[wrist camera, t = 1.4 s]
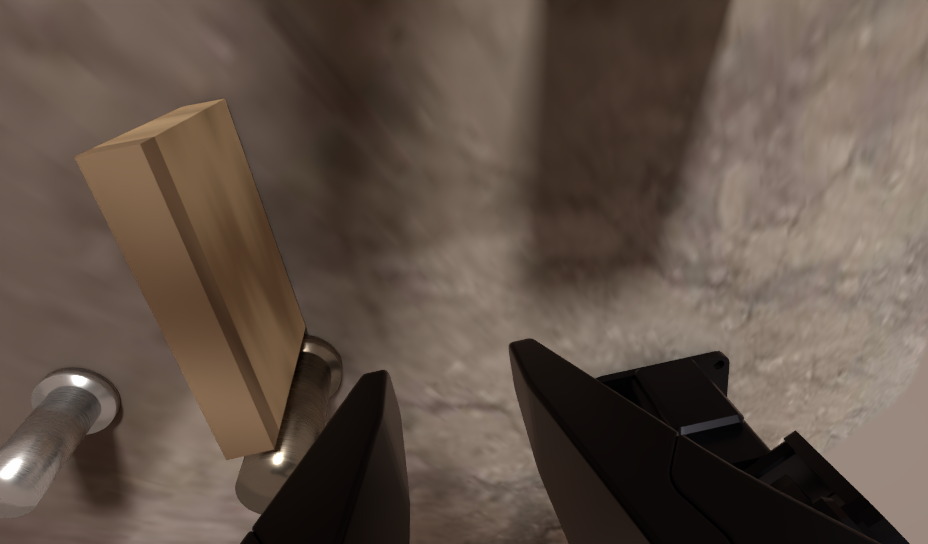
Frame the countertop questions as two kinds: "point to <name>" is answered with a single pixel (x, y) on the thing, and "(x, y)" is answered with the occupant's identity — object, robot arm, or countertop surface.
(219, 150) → the gate
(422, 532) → the countertop surface
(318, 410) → the hinge post
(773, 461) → the robot arm
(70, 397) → the post
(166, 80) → the countertop surface
